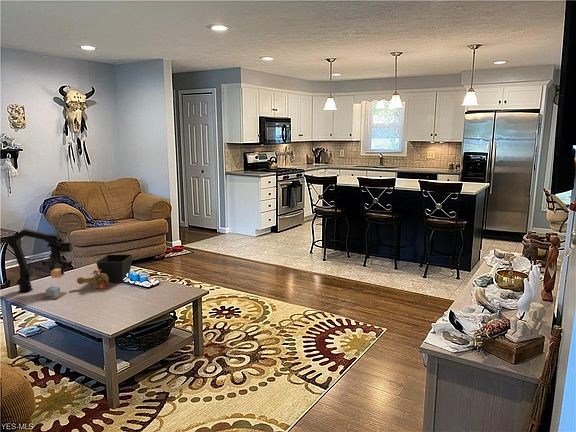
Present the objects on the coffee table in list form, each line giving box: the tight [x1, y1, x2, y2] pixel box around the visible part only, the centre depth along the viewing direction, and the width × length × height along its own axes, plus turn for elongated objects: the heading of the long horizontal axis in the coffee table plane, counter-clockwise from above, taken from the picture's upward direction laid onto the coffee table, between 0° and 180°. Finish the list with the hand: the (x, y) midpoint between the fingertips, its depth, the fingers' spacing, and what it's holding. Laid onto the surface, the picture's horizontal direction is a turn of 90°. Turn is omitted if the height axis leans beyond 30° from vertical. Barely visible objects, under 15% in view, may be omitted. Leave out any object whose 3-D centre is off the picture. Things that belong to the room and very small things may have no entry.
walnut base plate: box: [39, 291, 67, 301], centre depth 282 cm, size 11×11×1 cm
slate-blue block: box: [45, 286, 62, 297], centre depth 281 cm, size 6×6×4 cm
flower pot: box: [95, 254, 133, 284], centre depth 312 cm, size 19×19×17 cm
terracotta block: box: [50, 268, 66, 279], centre depth 292 cm, size 6×6×4 cm
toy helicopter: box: [76, 269, 110, 291], centre depth 296 cm, size 8×21×14 cm, turn 95°
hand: (58, 274), depth 292 cm, fingers closed on terracotta block, 6 cm apart
